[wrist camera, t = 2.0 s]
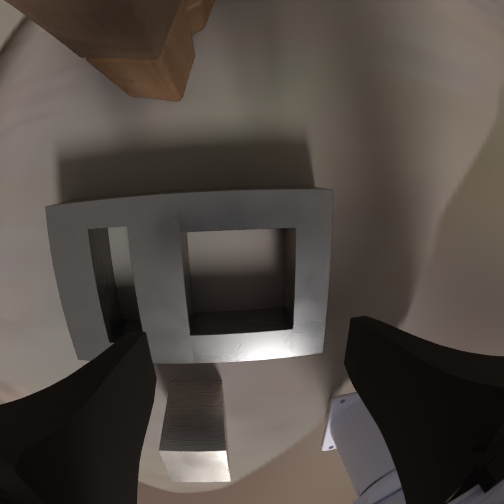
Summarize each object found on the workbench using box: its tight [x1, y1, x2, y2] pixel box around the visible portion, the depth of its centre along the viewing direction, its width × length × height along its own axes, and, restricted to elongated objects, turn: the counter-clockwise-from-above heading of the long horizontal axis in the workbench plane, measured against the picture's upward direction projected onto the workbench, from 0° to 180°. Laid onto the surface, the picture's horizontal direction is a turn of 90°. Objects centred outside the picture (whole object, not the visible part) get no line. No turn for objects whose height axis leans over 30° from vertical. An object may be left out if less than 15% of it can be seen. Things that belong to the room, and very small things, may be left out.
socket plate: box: [45, 187, 333, 364], centre depth 17 cm, size 16×10×3 cm, turn 91°
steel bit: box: [159, 381, 230, 482], centre depth 18 cm, size 4×4×7 cm
